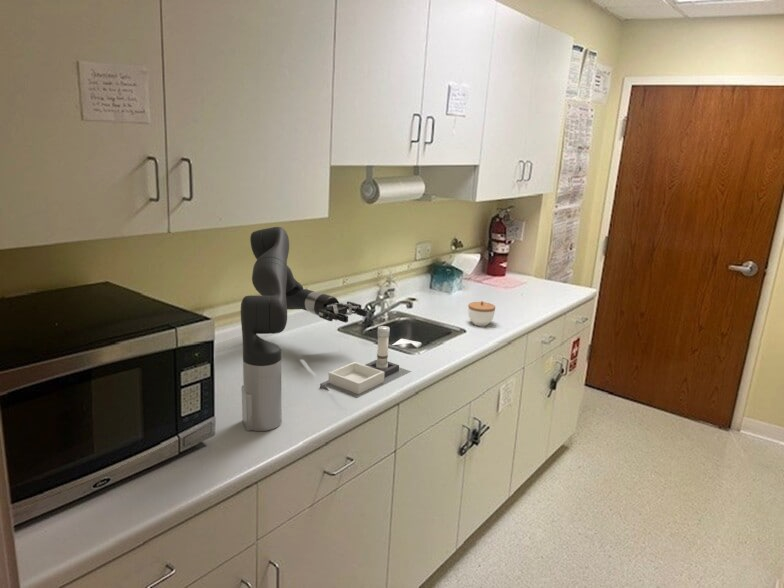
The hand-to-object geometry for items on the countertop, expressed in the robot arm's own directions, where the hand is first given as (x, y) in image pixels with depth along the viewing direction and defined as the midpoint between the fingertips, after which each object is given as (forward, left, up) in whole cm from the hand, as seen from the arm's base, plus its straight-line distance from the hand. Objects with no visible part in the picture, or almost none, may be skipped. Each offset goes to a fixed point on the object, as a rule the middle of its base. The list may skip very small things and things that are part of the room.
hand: (356, 316), depth 184 cm
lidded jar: (+64, +25, -16) cm, 70 cm away
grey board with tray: (-1, -14, -16) cm, 21 cm away
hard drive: (+22, +9, -17) cm, 29 cm away
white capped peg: (+5, -10, -15) cm, 19 cm away
